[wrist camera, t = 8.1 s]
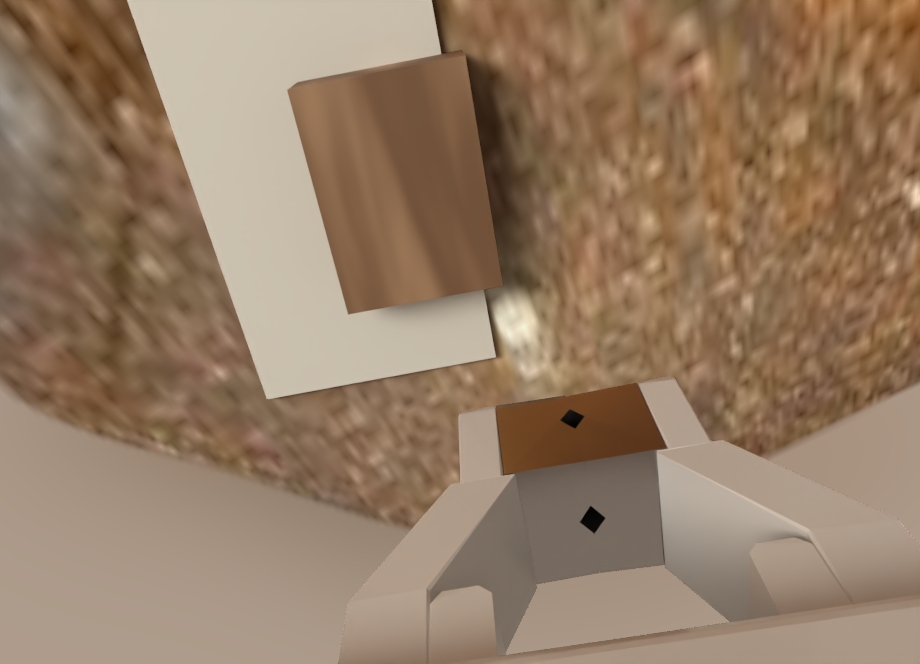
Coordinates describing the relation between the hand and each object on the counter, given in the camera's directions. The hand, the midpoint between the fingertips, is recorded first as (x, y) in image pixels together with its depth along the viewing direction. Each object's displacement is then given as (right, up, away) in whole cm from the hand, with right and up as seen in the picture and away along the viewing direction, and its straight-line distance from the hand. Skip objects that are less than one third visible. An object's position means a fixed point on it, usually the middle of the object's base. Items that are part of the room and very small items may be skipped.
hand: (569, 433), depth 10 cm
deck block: (-1, +8, +18) cm, 20 cm away
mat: (-7, +7, +20) cm, 22 cm away
